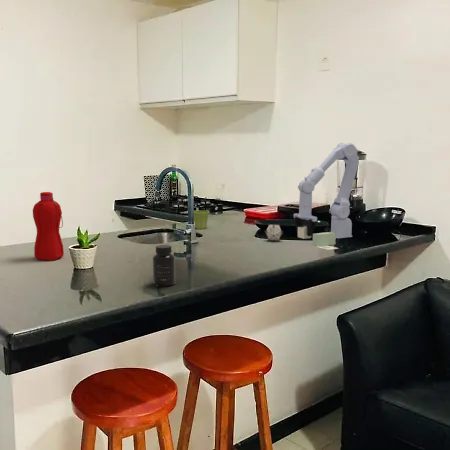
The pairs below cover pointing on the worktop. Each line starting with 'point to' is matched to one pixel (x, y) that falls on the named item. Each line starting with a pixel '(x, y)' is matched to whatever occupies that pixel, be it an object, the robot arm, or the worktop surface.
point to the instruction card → (327, 247)
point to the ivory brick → (303, 232)
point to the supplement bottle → (163, 266)
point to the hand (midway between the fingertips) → (304, 234)
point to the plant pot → (201, 219)
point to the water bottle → (47, 228)
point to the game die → (273, 232)
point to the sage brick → (324, 239)
